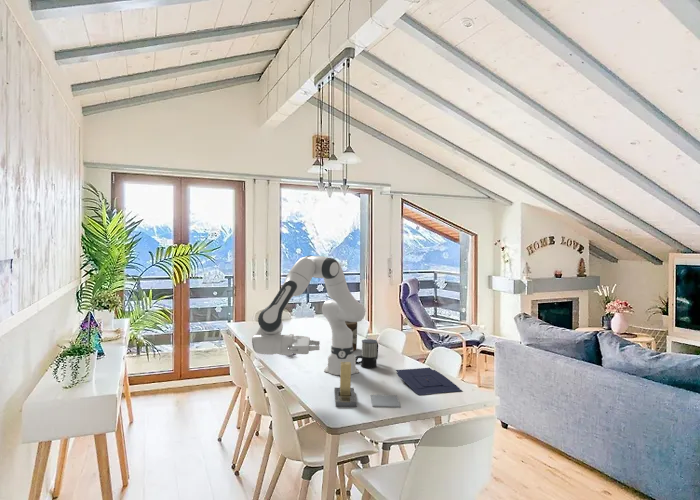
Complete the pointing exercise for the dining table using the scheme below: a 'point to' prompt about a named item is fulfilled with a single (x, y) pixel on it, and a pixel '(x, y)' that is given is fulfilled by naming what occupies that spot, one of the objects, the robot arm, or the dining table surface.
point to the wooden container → (354, 330)
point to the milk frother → (368, 354)
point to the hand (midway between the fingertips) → (319, 345)
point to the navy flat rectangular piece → (427, 381)
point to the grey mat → (385, 401)
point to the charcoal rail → (345, 399)
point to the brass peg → (345, 378)
